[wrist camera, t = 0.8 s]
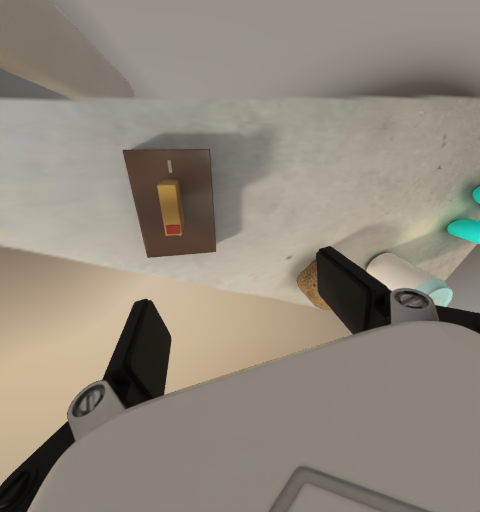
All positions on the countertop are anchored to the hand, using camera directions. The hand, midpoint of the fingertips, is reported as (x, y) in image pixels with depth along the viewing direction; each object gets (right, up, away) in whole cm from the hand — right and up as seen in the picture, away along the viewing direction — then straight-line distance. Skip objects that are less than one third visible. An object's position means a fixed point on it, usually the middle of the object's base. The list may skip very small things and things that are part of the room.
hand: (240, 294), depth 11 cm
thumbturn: (-9, +9, +16) cm, 20 cm away
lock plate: (-9, +10, +19) cm, 23 cm away
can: (+29, 0, +32) cm, 44 cm away
